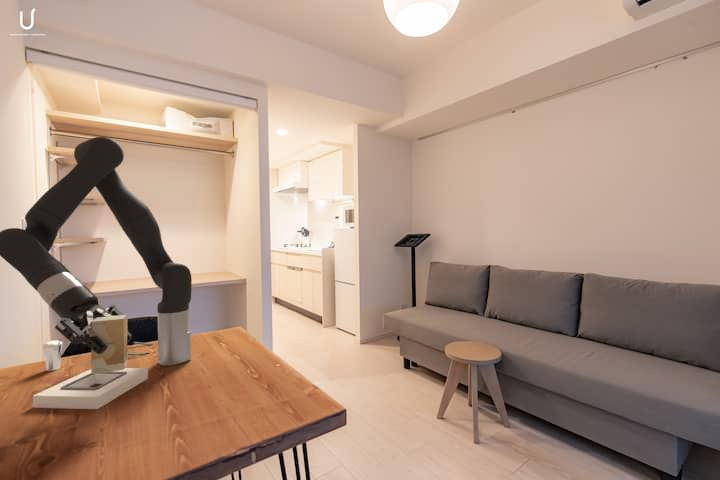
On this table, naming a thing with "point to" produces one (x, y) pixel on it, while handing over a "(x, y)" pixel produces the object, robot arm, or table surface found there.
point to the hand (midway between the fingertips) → (116, 345)
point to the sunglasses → (137, 343)
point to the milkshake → (52, 354)
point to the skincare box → (110, 344)
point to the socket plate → (90, 389)
